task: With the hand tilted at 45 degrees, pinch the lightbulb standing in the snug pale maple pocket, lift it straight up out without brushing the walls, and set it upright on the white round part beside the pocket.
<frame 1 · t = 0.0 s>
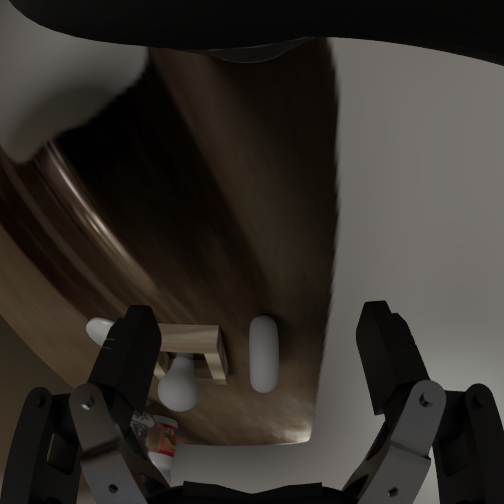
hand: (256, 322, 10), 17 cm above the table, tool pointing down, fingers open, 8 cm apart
lightbulb: (186, 346, 42), resting in pocket
apothecary jar: (135, 396, 59), on the table
fruit juice: (163, 418, 69), on the table
white round part: (111, 334, 41), on the table
pocket: (186, 347, 42), on the table
donut: (263, 322, 38), on the table
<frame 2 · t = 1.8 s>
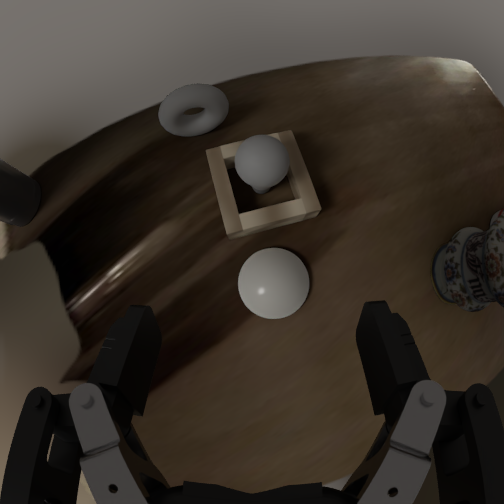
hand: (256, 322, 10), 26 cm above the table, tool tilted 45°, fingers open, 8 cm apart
lightbulb: (261, 188, 38), resting in pocket
apothecary jar: (451, 273, 36), on the table
fruit juice: (501, 235, 37), on the table
white round part: (273, 283, 36), on the table
pocket: (261, 187, 38), on the table
donut: (200, 130, 40), on the table
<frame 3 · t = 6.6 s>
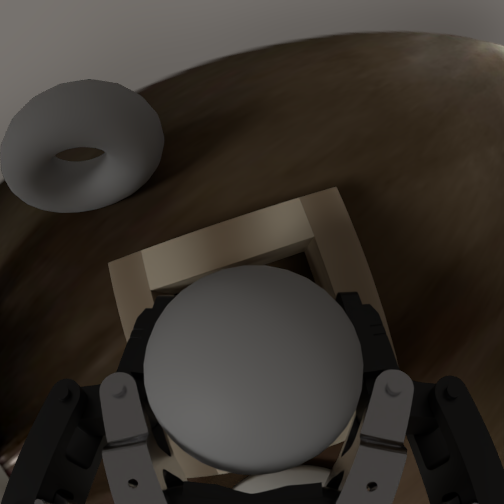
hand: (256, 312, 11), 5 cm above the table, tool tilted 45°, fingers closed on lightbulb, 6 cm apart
lightbulb: (260, 339, 15), resting in pocket, touching gripper
pocket: (259, 340, 15), on the table
donut: (119, 189, 18), on the table
when the fingers open (7 cm above the table, at t = 12.7 s): lightbulb drops 1 cm, resting on white round part.
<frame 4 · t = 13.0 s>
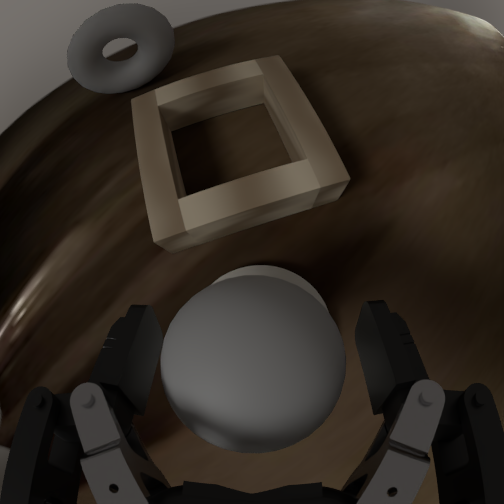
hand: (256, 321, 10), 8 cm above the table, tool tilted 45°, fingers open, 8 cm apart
lightbulb: (257, 340, 17), point 1 cm above the table, touching white round part
white round part: (260, 336, 17), on the table
pocket: (230, 153, 20), on the table
donut: (138, 85, 23), on the table
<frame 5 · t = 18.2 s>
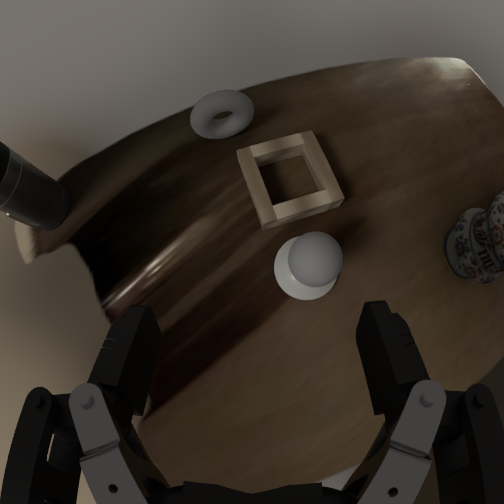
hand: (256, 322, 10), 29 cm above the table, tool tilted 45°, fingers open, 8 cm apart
lightbulb: (305, 268, 38), point 1 cm above the table, touching white round part
apothecary jar: (461, 252, 38), on the table
white round part: (306, 268, 39), on the table
pocket: (288, 182, 42), on the table
donut: (226, 134, 44), on the table
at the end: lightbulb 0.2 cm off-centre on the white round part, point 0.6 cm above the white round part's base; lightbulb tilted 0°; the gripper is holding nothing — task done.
